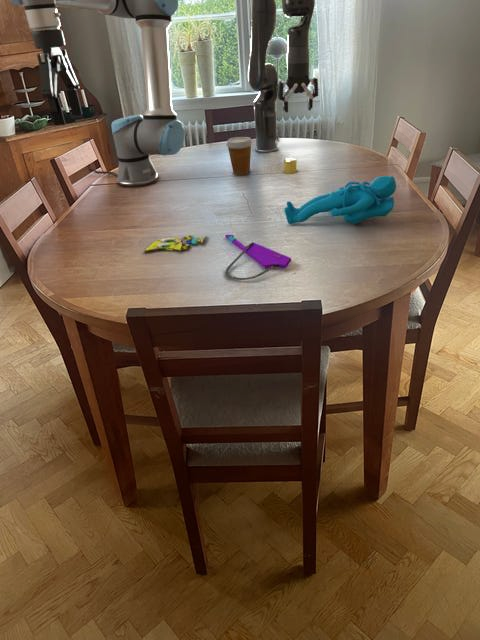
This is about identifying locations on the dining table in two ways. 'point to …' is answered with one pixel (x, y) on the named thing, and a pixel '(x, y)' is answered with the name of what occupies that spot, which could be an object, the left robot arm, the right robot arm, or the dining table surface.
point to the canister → (290, 165)
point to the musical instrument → (259, 257)
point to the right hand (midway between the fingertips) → (297, 111)
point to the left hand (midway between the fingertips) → (69, 119)
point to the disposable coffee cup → (240, 154)
